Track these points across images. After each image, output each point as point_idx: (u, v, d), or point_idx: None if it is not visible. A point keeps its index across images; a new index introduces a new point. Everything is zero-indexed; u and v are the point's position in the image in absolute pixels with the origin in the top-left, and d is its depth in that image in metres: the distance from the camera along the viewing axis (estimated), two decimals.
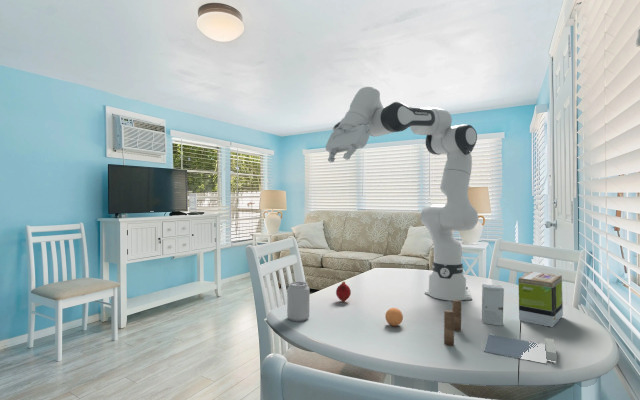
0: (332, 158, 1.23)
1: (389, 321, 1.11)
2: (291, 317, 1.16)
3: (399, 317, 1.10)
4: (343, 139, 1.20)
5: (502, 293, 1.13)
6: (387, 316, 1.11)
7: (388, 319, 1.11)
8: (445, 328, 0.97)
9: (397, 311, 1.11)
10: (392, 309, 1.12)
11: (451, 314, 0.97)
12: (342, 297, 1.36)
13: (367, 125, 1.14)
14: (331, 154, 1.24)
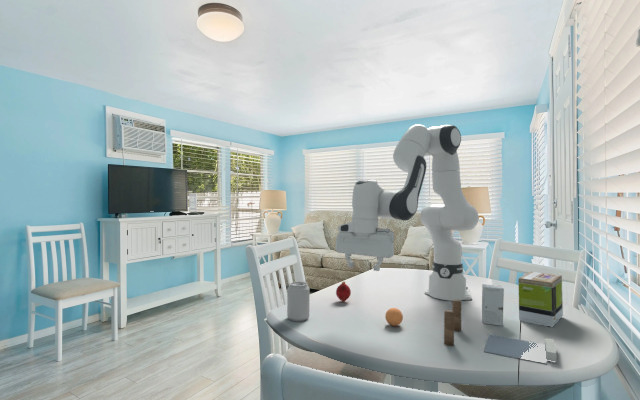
0: (352, 264, 1.19)
1: (389, 321, 1.11)
2: (291, 317, 1.16)
3: (399, 317, 1.10)
4: (362, 247, 1.15)
5: (502, 293, 1.13)
6: (387, 316, 1.11)
7: (388, 319, 1.11)
8: (445, 328, 0.97)
9: (397, 311, 1.11)
10: (392, 309, 1.12)
11: (451, 314, 0.97)
12: (342, 297, 1.36)
13: (390, 234, 1.12)
14: (348, 259, 1.19)
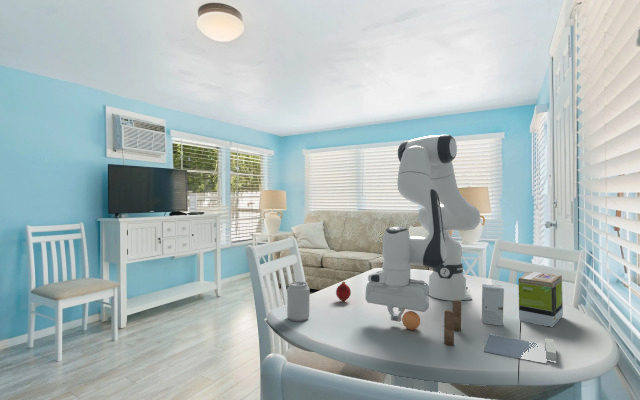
0: None
1: (405, 320, 1.08)
2: (291, 317, 1.16)
3: (410, 329, 1.08)
4: (395, 299, 1.11)
5: (502, 293, 1.13)
6: (410, 319, 1.07)
7: (407, 320, 1.07)
8: (445, 328, 0.97)
9: (416, 327, 1.07)
10: (418, 323, 1.07)
11: (451, 314, 0.97)
12: (342, 297, 1.36)
13: (424, 286, 1.07)
14: (391, 311, 1.12)
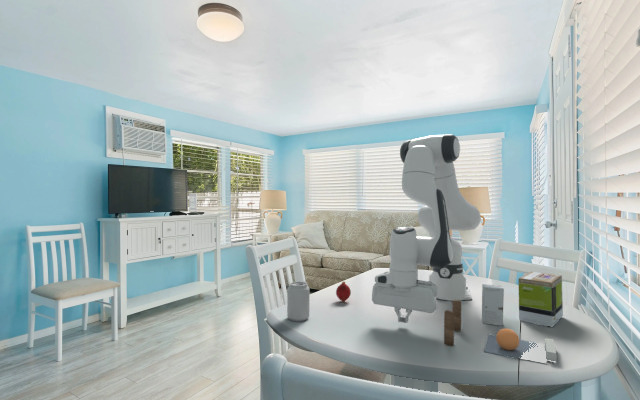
0: None
1: (509, 345, 0.92)
2: (291, 317, 1.16)
3: (509, 331, 0.93)
4: (402, 300, 1.09)
5: (502, 293, 1.13)
6: (503, 344, 0.93)
7: (506, 345, 0.92)
8: (445, 328, 0.97)
9: (501, 330, 0.94)
10: (497, 335, 0.95)
11: (451, 314, 0.97)
12: (342, 297, 1.36)
13: (432, 287, 1.06)
14: (398, 313, 1.11)
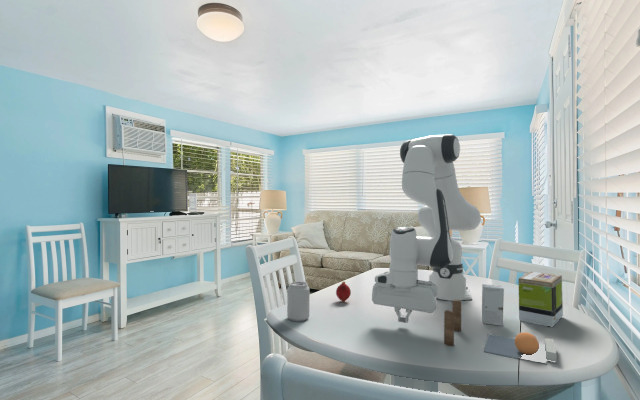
0: None
1: (522, 348, 0.90)
2: (291, 317, 1.16)
3: (537, 350, 0.90)
4: (402, 300, 1.09)
5: (502, 293, 1.13)
6: (523, 342, 0.90)
7: (522, 346, 0.90)
8: (445, 328, 0.97)
9: (537, 343, 0.90)
10: (532, 337, 0.90)
11: (451, 314, 0.97)
12: (342, 297, 1.36)
13: (432, 287, 1.06)
14: (398, 313, 1.11)
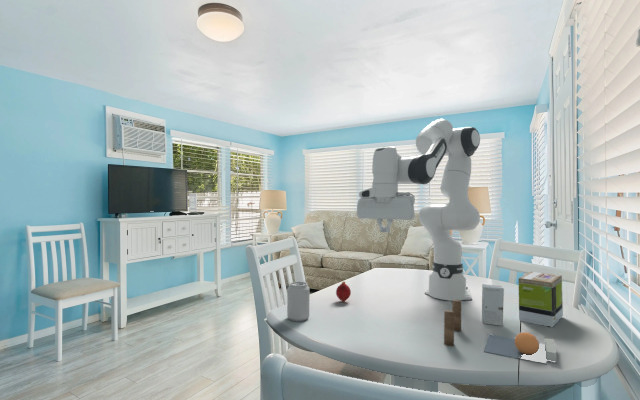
0: None
1: (522, 348, 0.90)
2: (291, 317, 1.16)
3: (537, 350, 0.90)
4: (383, 211, 1.20)
5: (502, 293, 1.13)
6: (523, 342, 0.90)
7: (522, 346, 0.90)
8: (445, 328, 0.97)
9: (537, 343, 0.90)
10: (532, 337, 0.90)
11: (451, 314, 0.97)
12: (342, 297, 1.36)
13: (410, 197, 1.17)
14: (380, 224, 1.22)
